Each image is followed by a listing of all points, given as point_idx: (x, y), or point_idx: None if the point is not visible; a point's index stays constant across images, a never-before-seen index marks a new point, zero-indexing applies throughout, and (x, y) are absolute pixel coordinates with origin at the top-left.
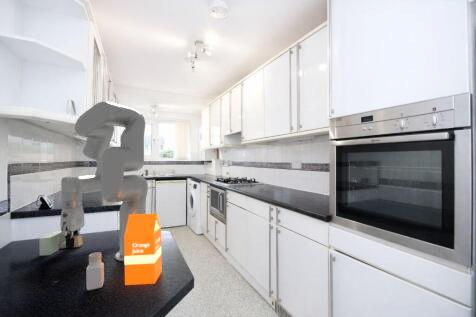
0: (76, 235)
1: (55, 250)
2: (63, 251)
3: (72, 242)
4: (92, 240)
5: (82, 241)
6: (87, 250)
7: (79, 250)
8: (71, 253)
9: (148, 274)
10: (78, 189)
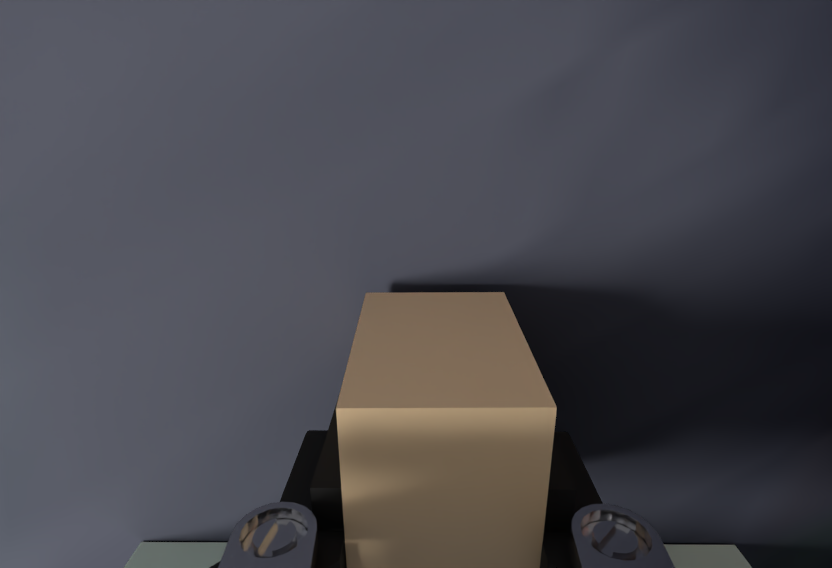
0: (394, 517)
1: None
2: (624, 445)
3: None
4: (72, 250)
5: (362, 314)
6: (714, 9)
7: (658, 191)
8: (785, 255)
9: None
10: None
